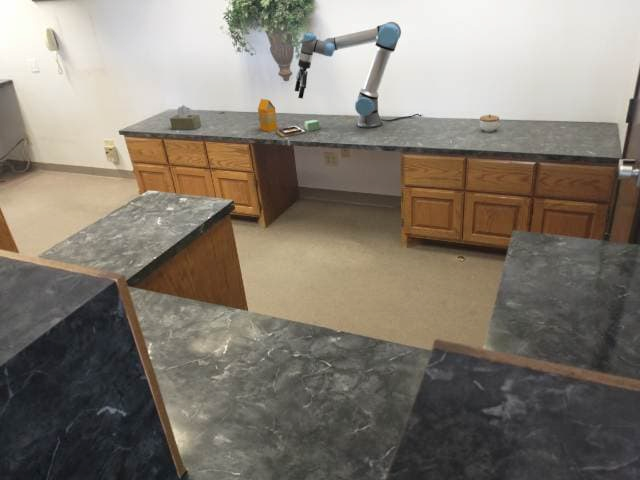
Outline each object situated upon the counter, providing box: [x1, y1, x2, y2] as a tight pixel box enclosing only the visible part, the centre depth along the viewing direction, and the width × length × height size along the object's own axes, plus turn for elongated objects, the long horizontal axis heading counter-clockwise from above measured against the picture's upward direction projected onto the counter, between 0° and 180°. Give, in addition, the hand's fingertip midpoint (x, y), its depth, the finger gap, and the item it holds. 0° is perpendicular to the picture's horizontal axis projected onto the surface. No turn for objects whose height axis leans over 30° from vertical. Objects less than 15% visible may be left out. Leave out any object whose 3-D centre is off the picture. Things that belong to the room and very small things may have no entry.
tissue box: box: [169, 104, 202, 131], centre depth 359 cm, size 19×10×16 cm, turn 73°
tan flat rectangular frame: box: [275, 125, 306, 138], centre depth 330 cm, size 16×12×2 cm
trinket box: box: [479, 114, 500, 133], centre depth 299 cm, size 11×11×9 cm
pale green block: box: [304, 119, 321, 132], centre depth 333 cm, size 8×6×5 cm
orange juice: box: [257, 98, 278, 133], centre depth 337 cm, size 8×9×20 cm
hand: (298, 94), depth 320 cm, fingers open, 13 cm apart
